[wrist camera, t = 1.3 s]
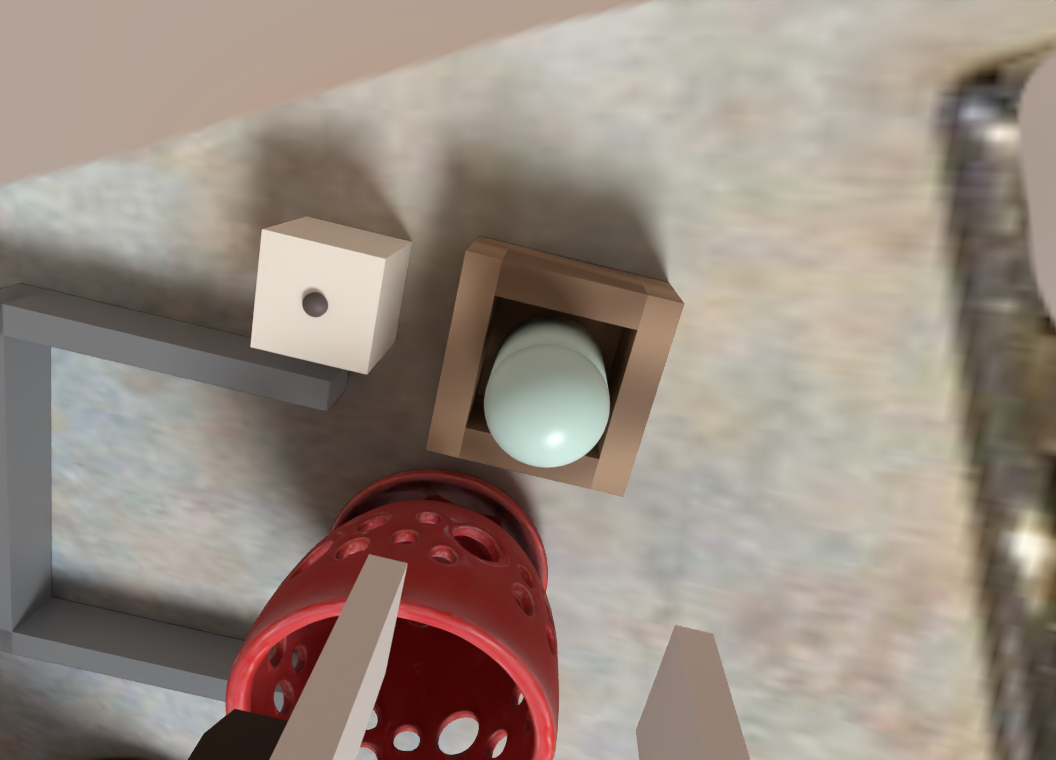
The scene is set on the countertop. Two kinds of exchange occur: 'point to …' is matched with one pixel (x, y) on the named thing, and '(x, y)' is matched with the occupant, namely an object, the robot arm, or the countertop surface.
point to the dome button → (547, 392)
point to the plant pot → (425, 619)
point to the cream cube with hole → (329, 293)
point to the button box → (568, 291)
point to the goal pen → (25, 479)
